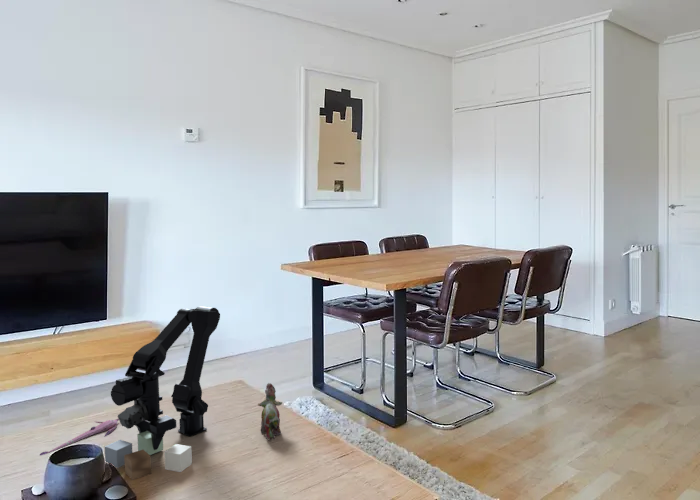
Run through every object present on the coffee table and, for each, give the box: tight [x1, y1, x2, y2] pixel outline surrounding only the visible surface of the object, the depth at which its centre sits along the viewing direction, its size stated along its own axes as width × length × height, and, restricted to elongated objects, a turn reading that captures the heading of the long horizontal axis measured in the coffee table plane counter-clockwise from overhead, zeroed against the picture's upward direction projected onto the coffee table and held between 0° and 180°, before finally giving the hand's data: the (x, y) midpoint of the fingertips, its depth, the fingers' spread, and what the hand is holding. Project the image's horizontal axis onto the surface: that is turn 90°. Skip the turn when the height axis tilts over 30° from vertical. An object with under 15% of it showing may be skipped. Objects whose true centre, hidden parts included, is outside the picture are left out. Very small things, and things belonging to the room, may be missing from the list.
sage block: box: [136, 431, 164, 456], centre depth 160 cm, size 5×5×5 cm
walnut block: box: [124, 450, 152, 481], centre depth 147 cm, size 5×5×5 cm
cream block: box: [163, 443, 193, 473], centre depth 151 cm, size 5×5×5 cm
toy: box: [39, 418, 119, 456], centre depth 170 cm, size 28×2×10 cm
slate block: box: [104, 439, 133, 469], centre depth 154 cm, size 5×5×5 cm
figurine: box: [257, 382, 283, 440], centre depth 172 cm, size 8×12×15 cm, turn 174°
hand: (150, 446), depth 160 cm, fingers closed on sage block, 5 cm apart
